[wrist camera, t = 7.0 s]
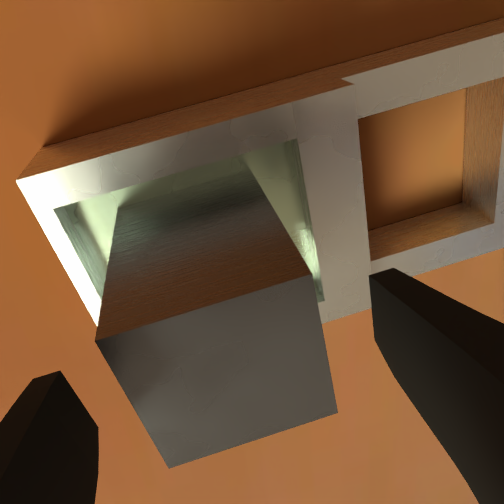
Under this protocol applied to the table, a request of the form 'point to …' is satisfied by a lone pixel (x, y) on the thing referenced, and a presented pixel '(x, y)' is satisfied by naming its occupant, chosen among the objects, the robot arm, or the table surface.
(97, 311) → the grey tray holder
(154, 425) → the gray metal block
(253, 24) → the table surface
